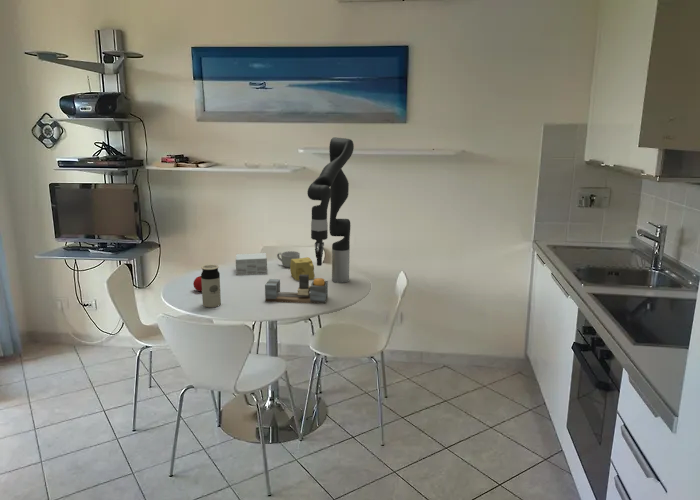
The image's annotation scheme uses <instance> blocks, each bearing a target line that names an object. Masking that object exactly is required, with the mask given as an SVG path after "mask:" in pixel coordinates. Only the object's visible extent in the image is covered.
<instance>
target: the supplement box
mask: <svg viewBox="0 0 700 500" xmlns="http://www.w3.org/2000/svg"><path fill="white" fill-rule="evenodd" d="M235 275H236V276H250V275H251V276H254V275H255V276H256V275H268V258H267V253H266V252H260V253H259V252H258V253H236V254H235Z"/></svg>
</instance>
